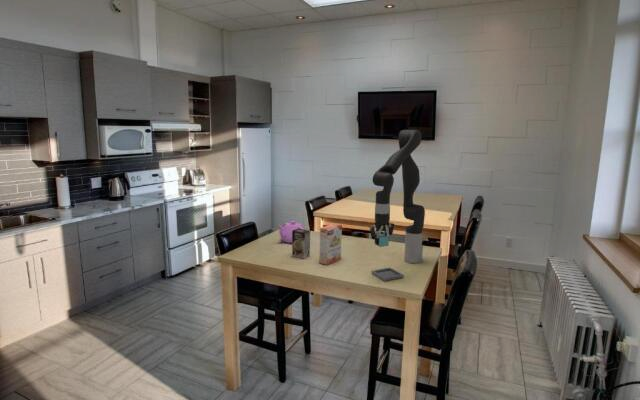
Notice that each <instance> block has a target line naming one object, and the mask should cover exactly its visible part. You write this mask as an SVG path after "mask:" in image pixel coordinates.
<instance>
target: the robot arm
mask: <svg viewBox="0 0 640 400" xmlns="http://www.w3.org/2000/svg"><path fill="white" fill-rule="evenodd" d="M421 143H422V133H421V132H420V130H418V129H403V130H400V131H399V134H398V147H399V150H397V151H396V152H394V153H393V154H391V155H390V156H389V158H388V159H387V160H386V162H385V164H384V165H382V166H381V167H380V168H379V169H378V170H376V171H375V173H374V174H373V176H372V183H373V185H374V186H377V187H383V188H382V190H378V191H376V193H375V205H374V224H373V225H371V224H370V225H369V231H370V235H371V237H373V238H374V245H375V244H376V245H375V246H377V245H379V235H380V234H382V232H383V234H385V235H387V236H389V237H390V236H392V235H393V232H394V229H395V223H392V222H390V218H391V216H390V215H391V204H390V203H391V202H390V201H391V200H390V199H391V197H390V196H391V192H392V189H393V185H394V183H395V182H394V181H395V178H394V176H393V175H395V174H396V173H398V170H399V169H400V167H401V173H402V174H401V176H402V188H403V189H402V190H403V205H402V208H403V211H402V212H403V217H404V218H405V219H406V220H409V221H413V224H410V225H407V226H406V227H405V235H404V236H405V239H404V242H405V243H404V260H403V261H404V262H406V263H408V264H409V263H410V264H419V263H421V262H423V253H424V252H423V251H424V249H423V248H424V245H423V229H424V226H425V225H424V224H425V216H426V209H425V207H424V206H423V205H421V204H417V203H415V204H414V194H415V192H416V190H417V188H418V187H419V186H420V180H421V179H420V169H419V167H418V165H417V163H416V162H415V160H414V159H413V157H412V154H413V152H414V151H415V150H416V149H417V148H418V147H419V146H420V144H421Z"/></svg>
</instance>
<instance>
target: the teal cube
mask: <svg viewBox="0 0 640 400" xmlns="http://www.w3.org/2000/svg"><path fill="white" fill-rule="evenodd" d="M389 239H390V236H387V235H385V234H384V233H381V234H380V235H379V245H376V244H375V243H374V245H375V246H377V247H379V248H384V247H389V243H390V242H389V241H390V240H389Z"/></svg>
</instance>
